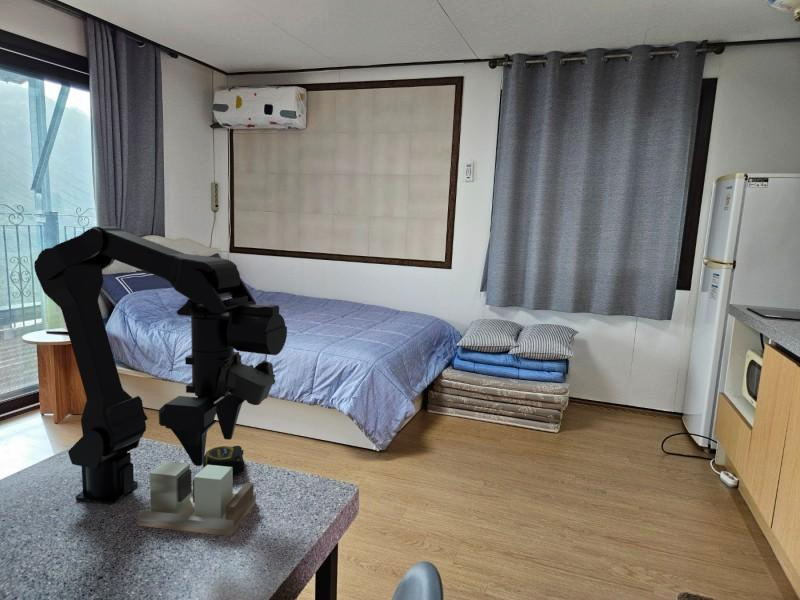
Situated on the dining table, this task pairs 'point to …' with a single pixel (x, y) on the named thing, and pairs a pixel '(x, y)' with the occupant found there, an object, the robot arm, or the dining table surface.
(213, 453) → the tape measure
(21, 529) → the dining table surface
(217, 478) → the block
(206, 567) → the dining table surface
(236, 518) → the open tray
